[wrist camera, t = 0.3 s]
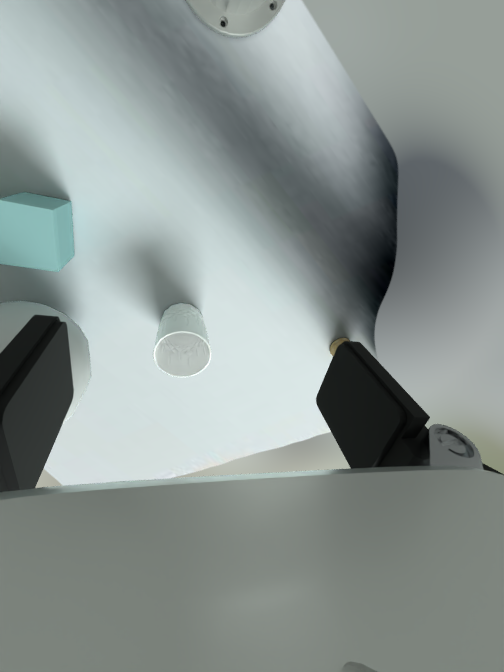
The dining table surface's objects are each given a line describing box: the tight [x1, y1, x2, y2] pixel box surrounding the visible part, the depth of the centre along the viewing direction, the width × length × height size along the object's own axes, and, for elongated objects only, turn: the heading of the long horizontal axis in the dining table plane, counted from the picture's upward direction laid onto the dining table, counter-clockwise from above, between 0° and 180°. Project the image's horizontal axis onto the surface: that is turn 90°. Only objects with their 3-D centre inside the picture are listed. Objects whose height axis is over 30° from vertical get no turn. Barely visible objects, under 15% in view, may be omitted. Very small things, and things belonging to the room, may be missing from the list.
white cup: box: [153, 303, 211, 377], centre depth 45 cm, size 8×8×10 cm
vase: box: [0, 301, 92, 425], centre depth 34 cm, size 17×16×28 cm
